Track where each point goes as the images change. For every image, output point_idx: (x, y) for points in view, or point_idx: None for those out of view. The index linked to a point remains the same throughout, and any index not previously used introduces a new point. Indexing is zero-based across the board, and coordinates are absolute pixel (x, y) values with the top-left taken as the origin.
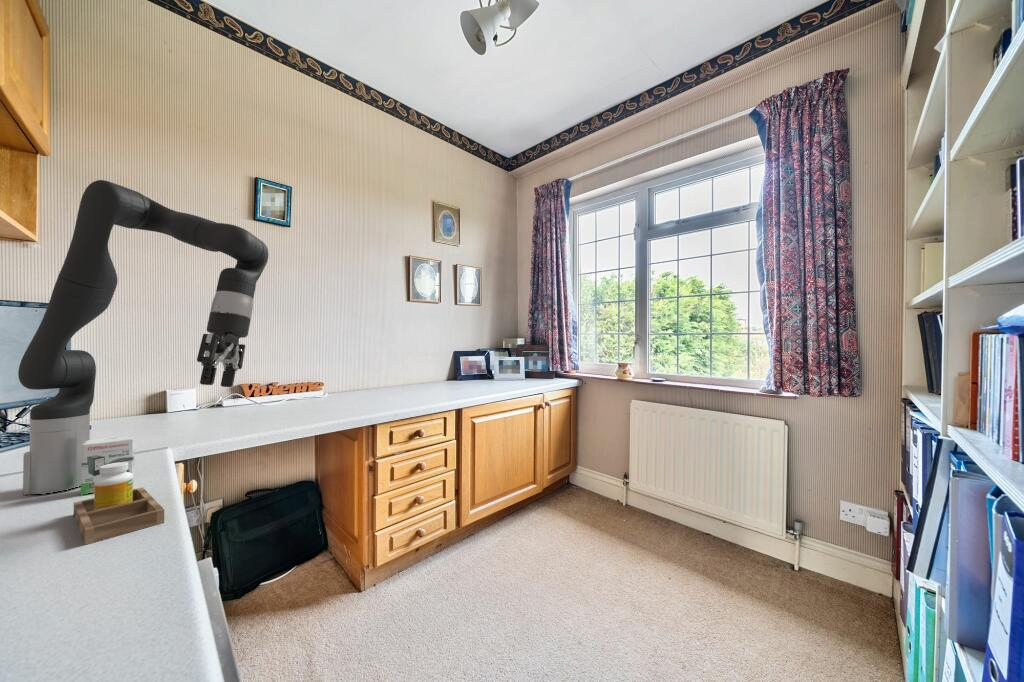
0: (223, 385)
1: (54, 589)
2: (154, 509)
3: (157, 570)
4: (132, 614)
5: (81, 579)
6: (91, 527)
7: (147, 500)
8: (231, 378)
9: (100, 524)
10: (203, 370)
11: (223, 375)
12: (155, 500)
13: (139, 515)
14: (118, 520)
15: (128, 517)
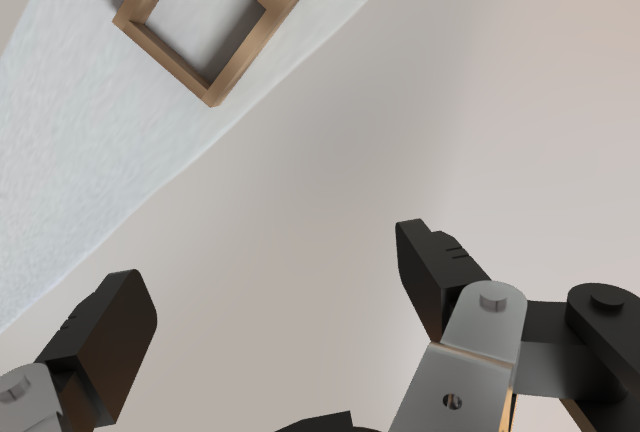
0: (399, 237)
1: (19, 119)
2: (216, 79)
3: (76, 222)
4: (2, 260)
5: (43, 134)
6: (122, 22)
7: (263, 15)
8: (418, 308)
9: (136, 28)
10: (42, 357)
11: (422, 268)
12: (262, 37)
13: (180, 76)
14: (155, 51)
15: (170, 60)
